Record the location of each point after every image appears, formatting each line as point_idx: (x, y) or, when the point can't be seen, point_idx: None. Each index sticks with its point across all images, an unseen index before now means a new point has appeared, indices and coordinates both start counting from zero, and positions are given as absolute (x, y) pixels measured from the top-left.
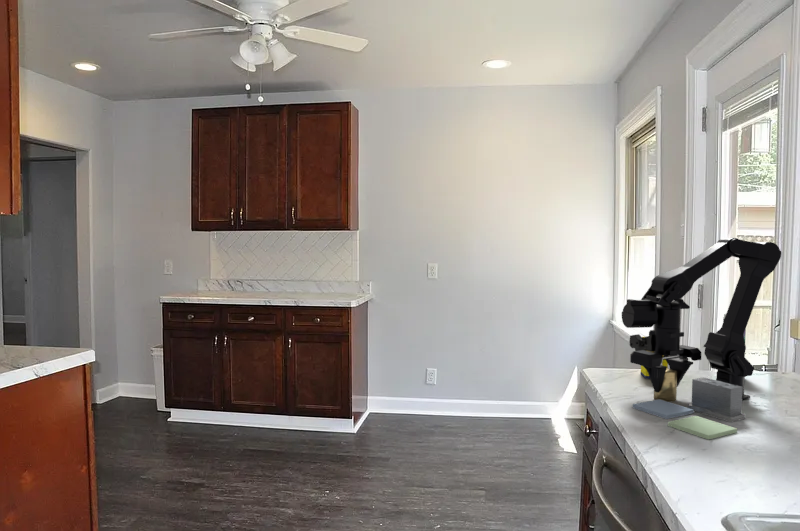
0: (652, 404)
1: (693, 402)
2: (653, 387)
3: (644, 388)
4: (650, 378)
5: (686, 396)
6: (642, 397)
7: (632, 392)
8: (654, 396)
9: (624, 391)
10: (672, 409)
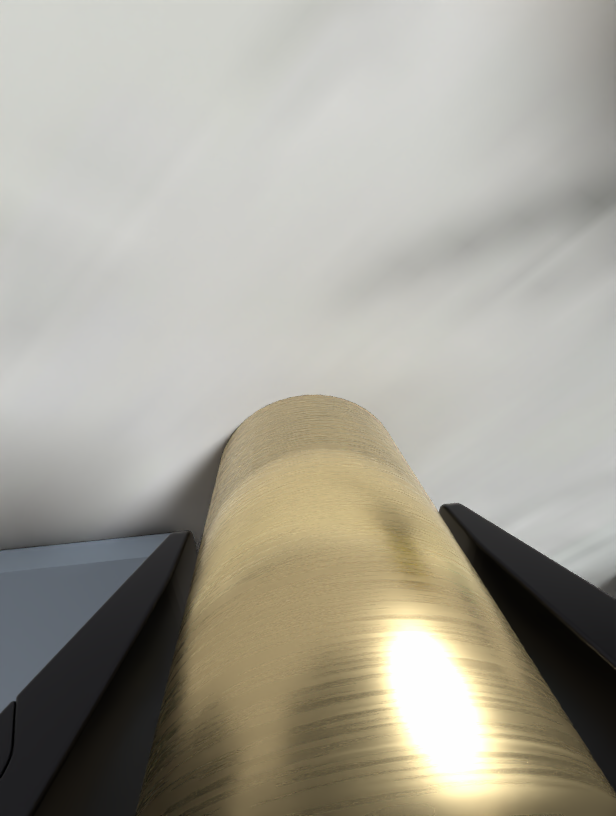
0: (7, 628)
1: None
2: (141, 567)
3: (479, 59)
4: (21, 697)
5: (525, 481)
6: (138, 375)
7: (159, 153)
8: (222, 456)
9: (69, 38)
10: None
